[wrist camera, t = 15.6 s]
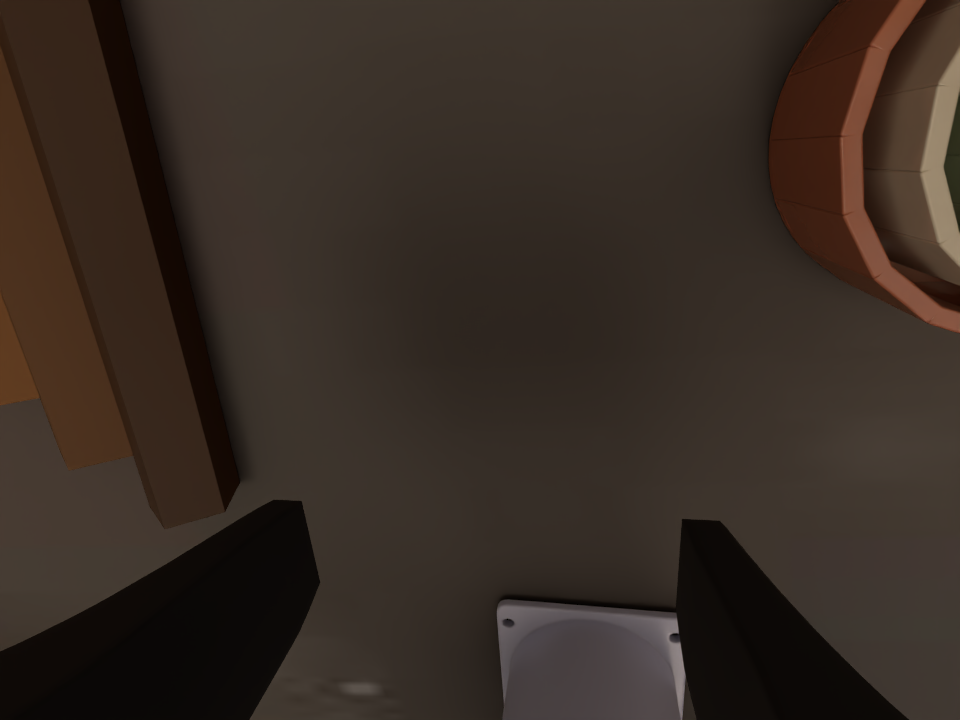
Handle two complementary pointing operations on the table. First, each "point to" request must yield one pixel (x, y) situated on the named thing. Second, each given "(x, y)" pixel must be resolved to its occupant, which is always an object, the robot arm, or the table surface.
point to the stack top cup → (916, 145)
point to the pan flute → (99, 263)
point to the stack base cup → (846, 157)
